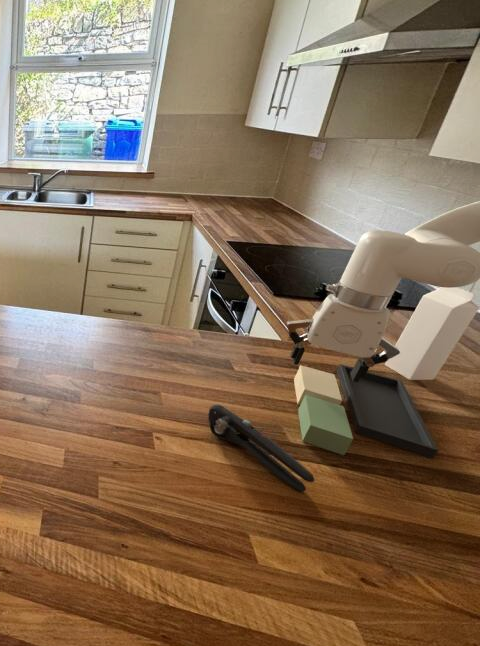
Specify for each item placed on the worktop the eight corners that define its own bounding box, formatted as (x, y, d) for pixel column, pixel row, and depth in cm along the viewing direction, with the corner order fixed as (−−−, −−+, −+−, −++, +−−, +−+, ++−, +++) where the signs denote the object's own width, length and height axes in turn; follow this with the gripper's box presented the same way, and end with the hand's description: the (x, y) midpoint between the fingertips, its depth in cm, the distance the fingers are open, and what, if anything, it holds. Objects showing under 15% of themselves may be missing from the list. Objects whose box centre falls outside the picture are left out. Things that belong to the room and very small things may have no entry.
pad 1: (327, 389, 88) (334, 374, 87) (334, 416, 81) (342, 400, 79) (293, 379, 91) (300, 365, 90) (297, 404, 84) (304, 389, 82)
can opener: (194, 425, 78) (202, 403, 75) (219, 415, 80) (227, 393, 78) (291, 502, 63) (304, 477, 61) (318, 487, 66) (331, 463, 63)
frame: (397, 387, 89) (401, 380, 88) (432, 458, 71) (438, 450, 71) (336, 370, 94) (339, 363, 94) (355, 433, 77) (359, 425, 76)
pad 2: (335, 422, 79) (343, 406, 78) (344, 455, 72) (353, 439, 70) (298, 410, 82) (305, 394, 80) (302, 441, 75) (310, 424, 73)
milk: (406, 364, 97) (455, 282, 88) (434, 380, 92) (489, 294, 83) (383, 364, 97) (429, 282, 88) (409, 380, 92) (462, 294, 82)
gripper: (305, 291, 77) (273, 364, 85) (431, 317, 69) (383, 395, 76) (302, 278, 83) (272, 347, 90) (417, 301, 74) (374, 375, 82)
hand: (323, 369), depth 83 cm, fingers open, 9 cm apart
